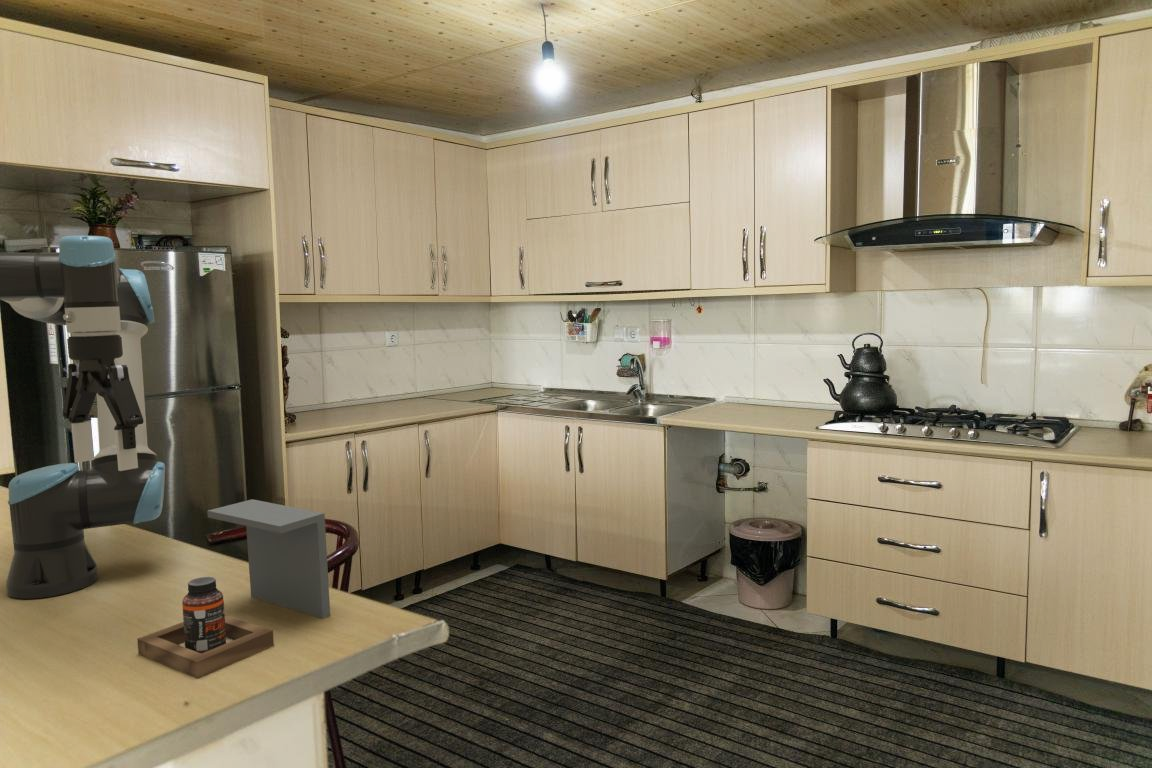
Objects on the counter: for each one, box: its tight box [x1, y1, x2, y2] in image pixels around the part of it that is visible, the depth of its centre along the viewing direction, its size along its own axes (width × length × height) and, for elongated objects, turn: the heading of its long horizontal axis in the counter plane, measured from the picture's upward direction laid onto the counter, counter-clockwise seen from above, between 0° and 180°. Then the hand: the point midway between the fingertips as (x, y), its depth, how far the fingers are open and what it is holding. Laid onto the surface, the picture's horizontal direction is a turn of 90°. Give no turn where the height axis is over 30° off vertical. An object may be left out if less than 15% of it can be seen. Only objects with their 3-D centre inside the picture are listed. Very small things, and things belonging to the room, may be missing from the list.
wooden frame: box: [136, 614, 275, 679], centre depth 129 cm, size 16×13×2 cm
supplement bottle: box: [181, 576, 227, 654], centre depth 129 cm, size 6×6×11 cm
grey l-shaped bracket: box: [206, 498, 331, 619], centre depth 143 cm, size 20×9×18 cm, turn 57°
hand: (105, 465), depth 133 cm, fingers open, 13 cm apart
